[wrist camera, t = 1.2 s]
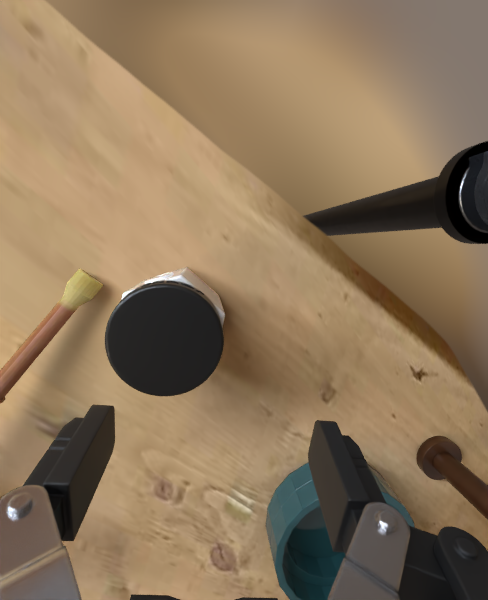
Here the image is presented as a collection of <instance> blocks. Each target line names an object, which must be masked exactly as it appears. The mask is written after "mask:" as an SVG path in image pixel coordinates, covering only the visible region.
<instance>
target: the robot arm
mask: <svg viewBox="0 0 488 600" xmlns="http://www.w3.org/2000/svg"><path fill="white" fill-rule="evenodd" d="M456 205H457V209H458V212H459V214H460V217H461V218H462V220H463V221H464V223H465V224H466V225H467V226H469V227H470V228H471V229H473V230H475V231H477V232H481V233H488V151H487V152H484V153H481V154H478V155H475V156H472V157H469V158H466V159H465V170H464V171H463V173H462V175H461V177H460V179H459V182H458V185H457V189H456ZM114 443H115V414H114V407H113V406H106V405H92V406H91V408H90V409H89V411H88V412H87V414H86V416H85V417H84V418H74V419H73V420H72V421H70V422H69V423H68V424H66V425H65V426H64V427H63V428H62V430H61V431H60V432H59V434H58V435H57V437H56V439H55V440H54V441H53V443H52V444H51V445H50V447H49V450H47V451H46V453H45V454H44V456H43V457H42V459H41V460H40V461H39V463H38V464H37V466H36V467H35V469H34V470H33V472H32V473H31V475H30V476H29V477H28V479H27V480H26V482H25V483H24V485H23V486H22V487H19V488H16V489H14V490H12V491H10V492H9V493H7V494H6V495H4V496H3V497H2V498H1V499H0V600H82V599H81V596H80V592H79V589H78V585H77V582H76V579H75V575H74V572H73V568H72V565H71V562H70V558H69V555H68V552H67V549H66V547H65V546H63V544H62V541H74V539H75V537H76V534H77V532H78V530H79V528H80V525H81V523H82V521H83V518H84V516H85V514H86V512H87V509H88V507H89V505H90V503H91V500H92V498H93V496H94V493H95V491H96V489H97V487H98V484H99V482H100V480H101V477H102V475H103V473H104V471H105V468H106V466H107V464H108V462H109V459H110V457H111V455H112V452H113V448H114ZM308 460H309V467H310V471H311V474H312V478H313V481H314V485H315V489H316V492H317V496H318V499H319V503H320V506H321V510H322V514H323V517H324V521H325V524H326V528H327V531H328V535H329V539H330V542H331V546H332V549H333V552H344V553H345V556H344V558H343V561H342V563H341V565H340V568H339V571H338V573H337V576H336V578H335V581H334V583H333V586H332V588H331V591H330V593H329V596H328V599H327V600H488V551H487V550H486V548H485V547H484V546H483V545H482V544H481V543H480V542H479V541H478V540H477V539H476V538H475V537H473V536H472V535H470V534H469V533H467V532H466V531H464V530H461V529H459V528H456V527H444V528H442V529H441V530H440V532H439V534H438V536H437V535H434V534H431V533H428V532H425V531H422V530H419V529H417V528H414V527H412V526H410V525H408V523H407V521H406V520H405V518H404V517H403V516H402V515H401V514H400V513H399V512H398V511H397V510H396V509H395V508H393V507H392V506H390V505H388V504H387V503H386V501H385V499H384V497H383V495H382V493H381V491H380V489H379V487H378V485H377V483H376V481H375V479H374V477H373V475H372V473H371V470H370V469H369V468H368V464H367V462H366V460H365V459H364V456H363V454H362V452H361V450H360V448H359V446H358V445H357V444H356V443H355V442H354V441H353V440H352V439H351V438H350V437H349V436H345V435H342V434H341V432H340V430H339V427H338V425H337V423H336V422H334V421H320V420H317V421H316V422H315V425H314V429H313V434H312V438H311V443H310V447H309V454H308ZM130 600H179V599H176V598H174V597H171V596H166V595H131V598H130ZM236 600H278V598H244V597H242V598H239V599H236Z"/></svg>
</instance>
